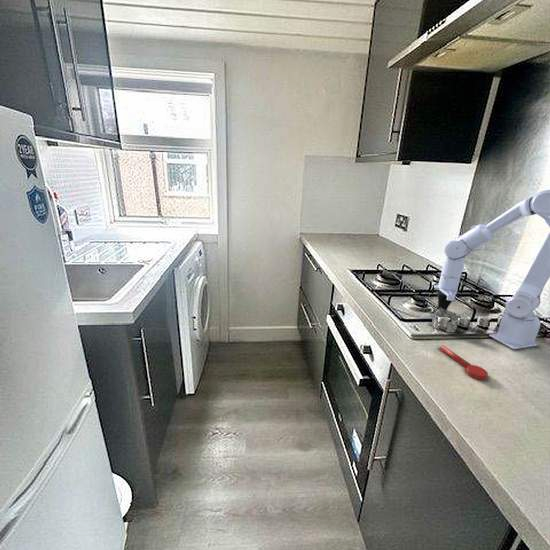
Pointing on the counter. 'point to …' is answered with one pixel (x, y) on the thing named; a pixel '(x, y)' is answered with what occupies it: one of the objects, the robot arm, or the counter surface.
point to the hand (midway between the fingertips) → (441, 312)
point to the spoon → (467, 365)
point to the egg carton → (445, 313)
